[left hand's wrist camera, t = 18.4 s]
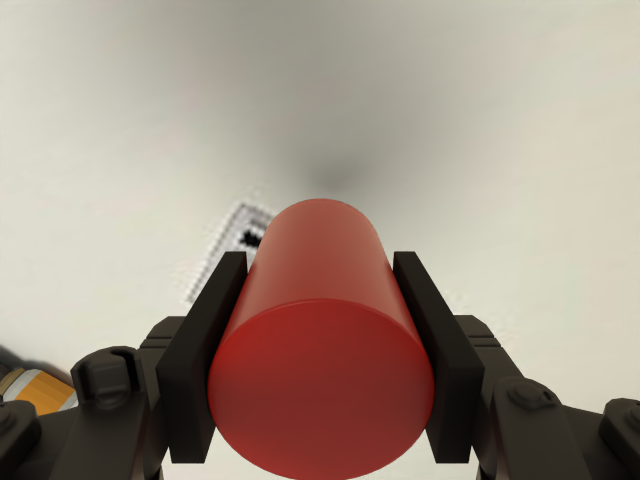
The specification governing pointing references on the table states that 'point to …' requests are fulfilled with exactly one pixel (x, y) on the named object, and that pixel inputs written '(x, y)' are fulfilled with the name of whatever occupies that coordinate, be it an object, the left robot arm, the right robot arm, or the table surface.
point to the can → (320, 352)
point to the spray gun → (36, 390)
